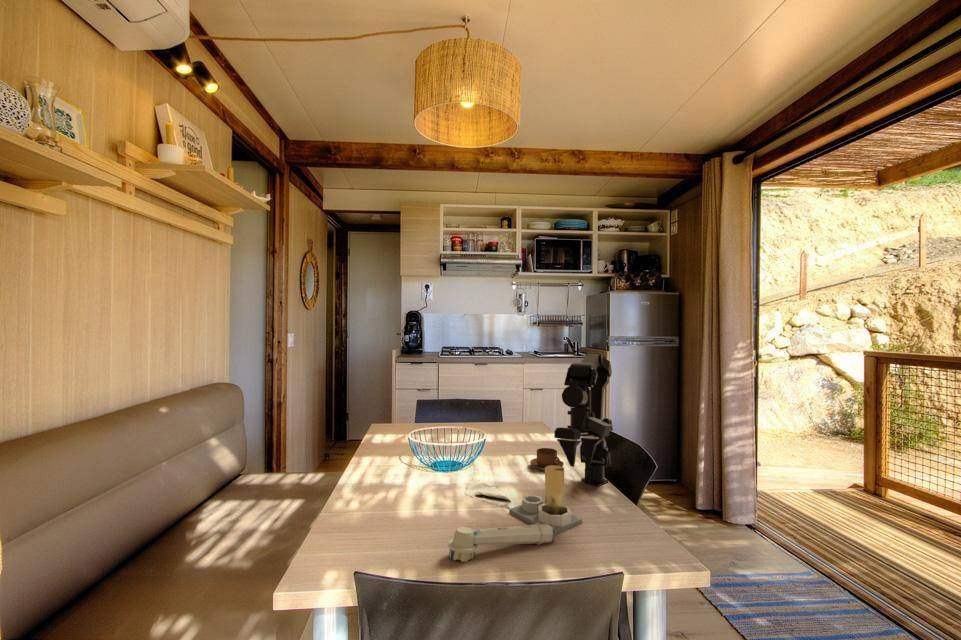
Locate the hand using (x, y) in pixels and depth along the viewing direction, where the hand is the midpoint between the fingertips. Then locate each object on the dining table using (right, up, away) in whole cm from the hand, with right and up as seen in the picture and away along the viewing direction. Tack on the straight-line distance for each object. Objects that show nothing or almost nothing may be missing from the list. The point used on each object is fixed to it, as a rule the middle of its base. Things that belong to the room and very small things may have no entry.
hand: (580, 465), depth 119 cm
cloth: (-26, -14, +13) cm, 32 cm away
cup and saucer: (-4, -14, +36) cm, 39 cm away
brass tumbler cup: (-8, -12, -7) cm, 16 cm away
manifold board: (-11, -13, -4) cm, 17 cm away
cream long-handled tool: (-23, -13, -20) cm, 33 cm away
